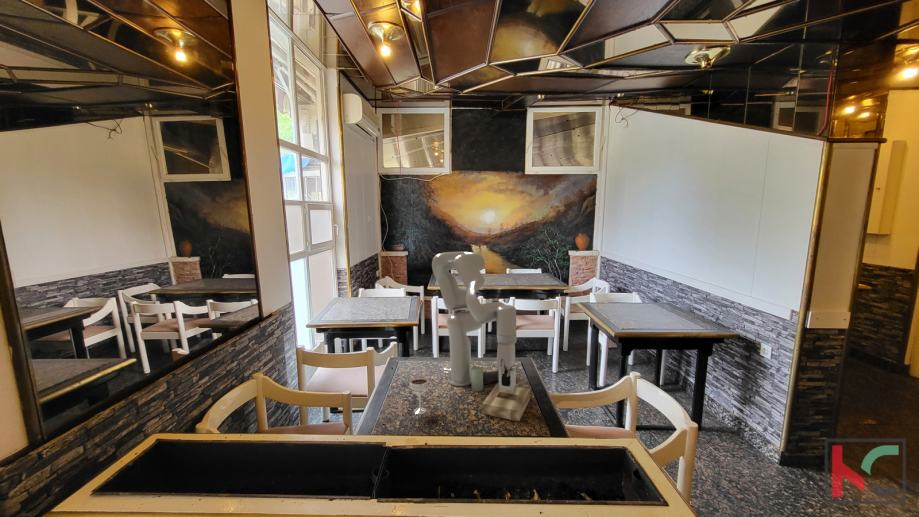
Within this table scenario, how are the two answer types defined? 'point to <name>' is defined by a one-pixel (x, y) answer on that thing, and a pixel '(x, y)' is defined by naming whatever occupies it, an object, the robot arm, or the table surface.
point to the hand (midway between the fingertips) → (507, 383)
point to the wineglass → (419, 391)
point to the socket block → (506, 403)
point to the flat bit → (512, 387)
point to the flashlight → (490, 376)
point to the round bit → (477, 379)
